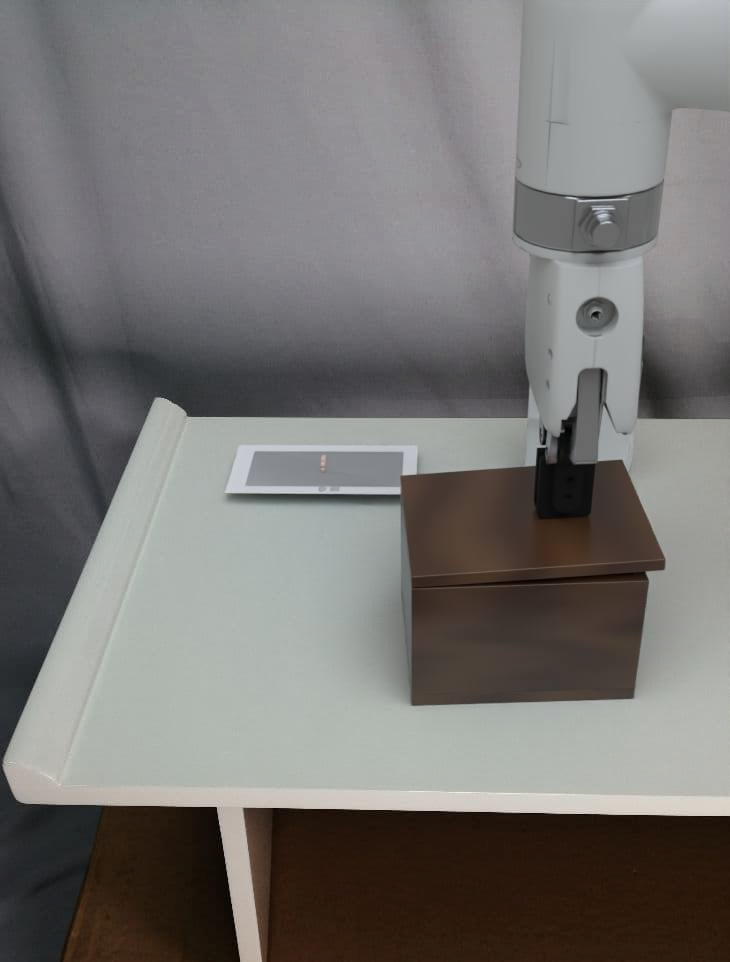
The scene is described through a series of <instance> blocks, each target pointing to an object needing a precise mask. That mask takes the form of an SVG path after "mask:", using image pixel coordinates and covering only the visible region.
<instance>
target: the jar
mask: <svg viewBox="0 0 730 962" xmlns="http://www.w3.org/2000/svg"><path fill="white" fill-rule="evenodd" d="M644 350H645V335H644V334H643V339H642V355H641V370H640V385H639V392H640V390H641V381H642V373H643V364H644V362H643V358H644ZM528 383H529V382H528ZM638 401H639V399H638ZM539 421H540V413H539V411H538V408H537V405H536V402H535V399H534V396H533V393H532V390H531V386H530V383H529V385H528V403H527V421H526V437H525V455H524V467H525V466H536V454H537V448H544V447H546V445H544V446H541V445H540V441H539ZM635 434H636V428H635V429H634V430H633V432H632V433H631V434H629V435H623V434H622V433H616V431H615V429H614V426H613V424H612V422H611V420H610V417H609V415H608V413H607V411H606V408H605V406H603V413H602V420H601V427H600V434H599V441H598V461H607V460H623V462H624V465H625V467H626V469H627V471H628V473H629V472H630V469H631V466H632V460H633V451H634V442H635Z"/></svg>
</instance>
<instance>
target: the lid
mask: <svg viewBox="0 0 730 962" xmlns="http://www.w3.org/2000/svg"><path fill="white" fill-rule="evenodd" d="M535 469H536V466H525V465H524V466H513V467H512V466H511V467H500V468H487V469H486V468H485V469H484V468H483V469H474V470H473V469H472V470H471V469H470V470H457V471H446V472H445V471H444V472H443V471H442V472H431V473H418V474H415V475H402V476H400V482H401V493H402V502H403V512H404V521H405V531H406V540H407V549H408V559H409V568H410V578H411V586H412V587H413V588H414V587H429V586H443V585H458V584H472V583H487V582H501V581H516V580H531V579H545V578H560V577H574V576H589V575H603V574H618V573H633V572H646V573H647V572H658V571H659V572H660V571H662V572H663V571H665V570H666V561H667V560H666V557H665V555H664V552H663V550H662V548H661V546H660V543H659V541H658V539H657V536H656V534H655V532H654V529H653V527H652V525H651V522H650V520H649V518H648V515H647V513H646V511H645V508H644V506H643V503H642V502H641V499H640V497H639V495H638V492H637V489H636V488H635V485H634V483H633V480H632V479H631V476H630V474H629V472H628V471H627V469H626V467H625V465H624V462H623V460H607V461H597V464H596V465H595V475H594V485H593V495H592V506H591V513H590V514H589V515H588V516H586V517H573V518H544V519H543V518H540V517H539V516H538V515H537V511H536V507H535V504H534V484H535Z"/></svg>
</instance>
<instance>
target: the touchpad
mask: <svg viewBox="0 0 730 962" xmlns="http://www.w3.org/2000/svg"><path fill="white" fill-rule="evenodd" d="M418 451H419V445H395V444H394V445H392V444H391V445H390V444H389V445H388V444H387V445H385V444H383V445H380V444H379V445H378V444H377V445H372V444H371V445H365V444H361V445H359V444H357V445H355V444H353V445H352V444H351V445H350V444H349V445H346V444H345V445H342V444H341V445H339V444H338V445H336V444H334V445H333V444H328V445H326V444H317V445H316V444H239V445H238V448H237V451H236V454H235V458H234V461H233V464H232V467H231V470H230V474H229V477H228V480H227V483H226V487H225V490H224V494H266V495H267V494H270V495H271V494H274V495H275V494H276V495H277V494H279V495H280V494H281V495H282V494H284V495H285V494H286V495H287V494H288V495H290V494H291V495H292V494H293V495H295V494H296V495H401V482H400V476H402V475H415V474H417V473H418Z"/></svg>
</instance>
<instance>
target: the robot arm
mask: <svg viewBox="0 0 730 962" xmlns="http://www.w3.org/2000/svg"><path fill="white" fill-rule="evenodd" d="M521 19H522V22H521V40H520V43H521V44H520V58H519V59H520V63H519V79H518V80H519V81H518V103H517V121H516V123H517V125H516V141H515V145H516V146H515V166H514V186H513V205H512V207H513V208H512V209H513V210H512V227H511V228H512V229H511V231H512V232H511V240H512V242H513V244H514V245H515V246H516V247H517V248H518V249H519V250H522V251H523V252H525V253H527V254H529V266H528V276H527V277H528V279H527V291H526V305H525V306H526V309H525V325H524V327H525V328H524V332H525V333H524V334H525V335H524V361H525V370H526V371H525V372H526V377H527V379H528V383H530V386H531V390H532V393H533V396H534V399H535V402H536V405H537V408H538V411H539V413H540V421H539V441H540V445H541V446H544V445H546V447H544V448H537V454H536V469H535V484H534V504H535V507H536V511H537V515H538V516H539V517H540V518H543V519H544V518H573V517H586V516H588V515H589V514H590V513H591V506H592V495H593V485H594V475H595V465H596V464H597V461H598V441H599V434H600V427H601V420H602V413H603V406H605V408H606V411H607V413H608V415H609V417H610V420H611V422H612V424H613V426H614V429H615V431H616V433H622V434H623V435H629V434H631V433H632V432H633V430H634V429H635V430H636V427H637V423H638V412H639V400H638V399H639V398H640V391H639V385H640V386H641V383H640V370H641V355H642V339H643V335H644V318H645V317H644V316H645V314H644V313H645V275H644V274H645V273H644V256H643V255H645V254H647V253H649V252H650V251H652V250H653V249H654V248H655V247H656V246H657V244H658V237H659V228H660V219H661V211H662V202H663V195H664V194H663V193H664V184H665V177H666V168H667V161H668V160H667V159H668V152H669V143H670V135H671V127H672V117H673V111H674V110H676V109H693V110H694V109H695V110H708V111H721V112H730V0H522V17H521Z"/></svg>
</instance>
